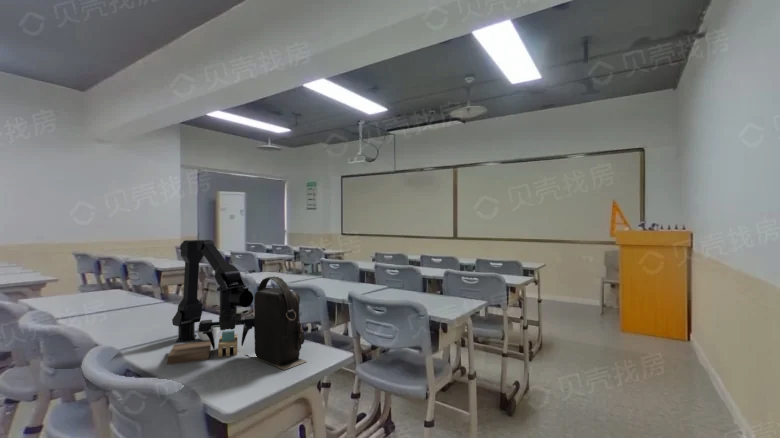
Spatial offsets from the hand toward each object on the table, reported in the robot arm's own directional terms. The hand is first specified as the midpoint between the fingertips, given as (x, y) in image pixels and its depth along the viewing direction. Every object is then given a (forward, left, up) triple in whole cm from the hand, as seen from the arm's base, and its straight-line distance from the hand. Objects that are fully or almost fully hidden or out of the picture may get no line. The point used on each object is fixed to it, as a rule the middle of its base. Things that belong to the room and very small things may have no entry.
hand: (228, 347), depth 130 cm
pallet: (0, 0, -2) cm, 2 cm away
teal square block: (0, 0, +3) cm, 3 cm away
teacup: (-19, -7, -2) cm, 20 cm away
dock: (-1, -12, -1) cm, 12 cm away
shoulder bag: (+14, +15, -2) cm, 21 cm away
